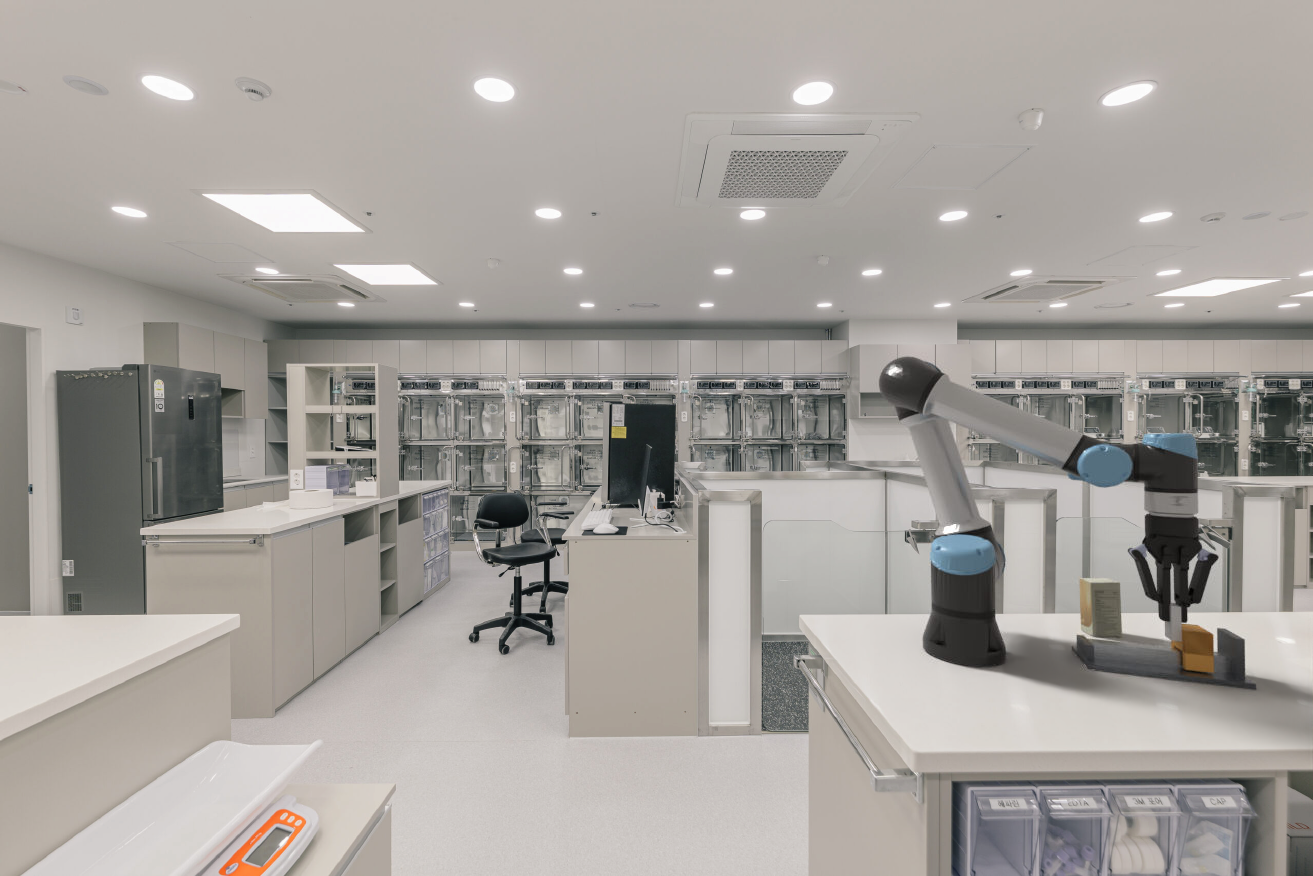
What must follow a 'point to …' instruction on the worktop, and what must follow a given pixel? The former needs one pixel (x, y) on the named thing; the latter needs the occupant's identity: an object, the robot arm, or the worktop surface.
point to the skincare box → (1100, 607)
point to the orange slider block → (1196, 648)
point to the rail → (1166, 672)
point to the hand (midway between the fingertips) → (1173, 638)
